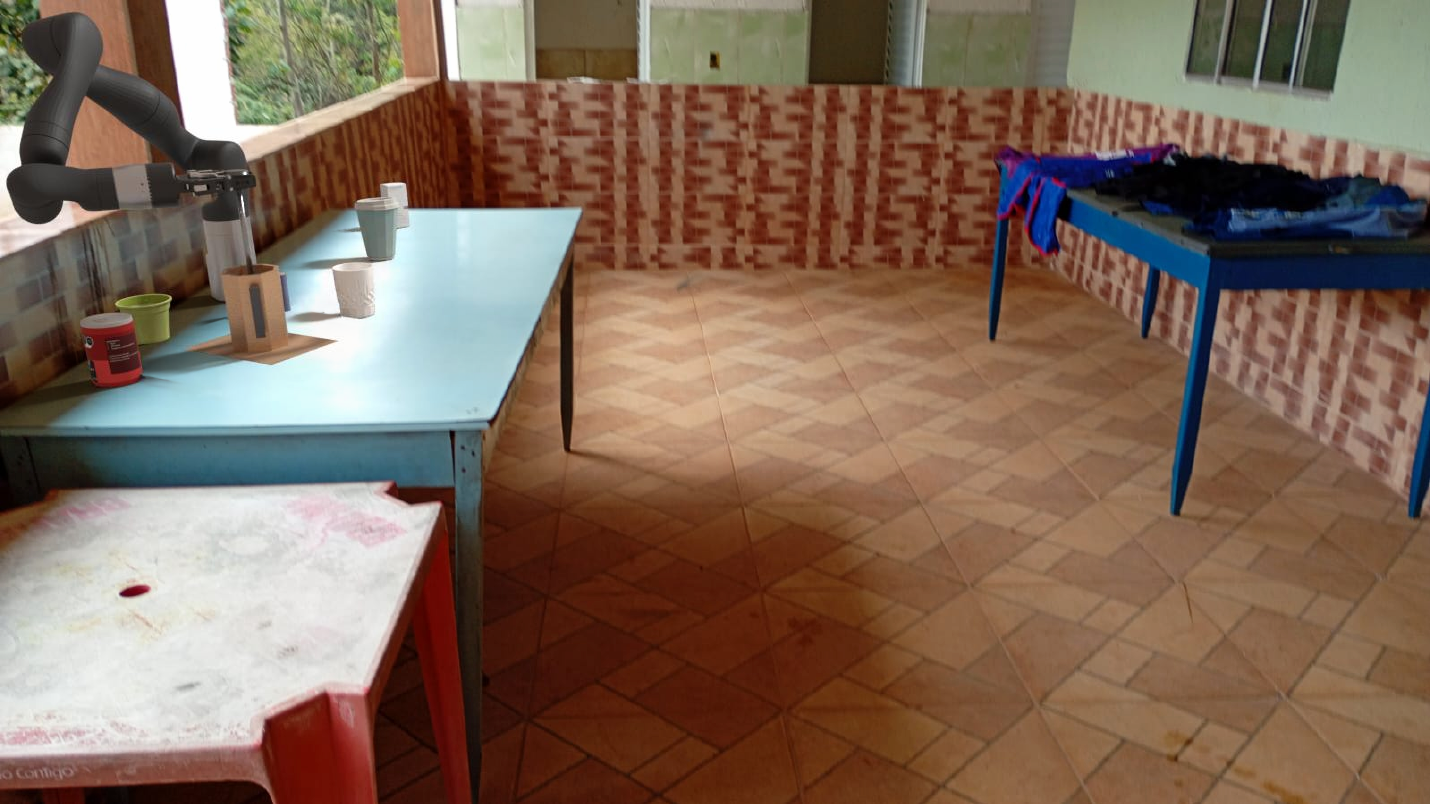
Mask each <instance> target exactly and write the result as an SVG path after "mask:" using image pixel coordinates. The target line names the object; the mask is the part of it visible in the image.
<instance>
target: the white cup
mask: <svg viewBox="0 0 1430 804" xmlns="http://www.w3.org/2000/svg"><path fill="white" fill-rule="evenodd" d="M331 271H332V276H333V281H334V289H335V293H336V297H337V298H336V299H337V302H338V306H339V312H340V317H342V316H343V317H342V318H348V319H349V318H351V319H356V318H357V319H363V318H364V319H365V318H369V317H371V316H374V315H375V313H376V308H375V307H376V306H375V300H376V296H375V293H376V292H375V281H374V279H375V277H374V266H373V264H372V263H370V262H363V261H362V262H345V263H341V264H339V263H338V264H336V265H334V266H332V268H331Z"/></svg>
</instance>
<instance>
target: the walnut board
mask: <svg viewBox="0 0 1430 804" xmlns="http://www.w3.org/2000/svg"><path fill="white" fill-rule="evenodd" d="M288 337H289V344H288V345H287V346H285V347H282V348H279V349H276V350H273V351H265V352H255V353H246V352H240V351H234V350H233V346H232V339H231V333H229V334H225V335H223V336H222V335H221V336H219V337H216V338H214V339H209V340H207V341H204V342H200V343H197V344H194V345H191V346H187V347H185V348H183V350H185V351H191V352H196V353H202V354H207V355H213V356H219V357H224V358H230V359H236V360H240V361H241V360H242V361H248V362H252V363H258V364H263V365H268V366H269V365H270V366H273V365H276V364H278V363H282V362H284V361H287V360H289V359H292V358H295V357H298V356H301V355H303V354H306V353H310V352H312V351H314V350H317V349H320V348H323V347H326V346H329V345H331V344H334V343H336V342H338V339H337V340H336V339H331V338H323V337H318V336H311V335H305V334H300V333H292V332H288Z"/></svg>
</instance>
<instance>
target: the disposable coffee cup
mask: <svg viewBox="0 0 1430 804" xmlns="http://www.w3.org/2000/svg"><path fill="white" fill-rule="evenodd" d="M398 207H400V206H399V203H398V202H397V201H396V197H381V196H380V197H371V198H364V199H359V200H356V202H354V210H355V213H356V216H357V217H356V218H357V221H358V226H359V229H360V234H361V238H362V241H363V246H364V249H365V253H366V256H367V259H368V260H369V261H377V262H378V261H379V262H380V261H390V260H393V259H394V258H395V255H396V252H397V251H396V248H397V236H398V235H397V233H398V231H397V230H398V228H397V218H398Z"/></svg>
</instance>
